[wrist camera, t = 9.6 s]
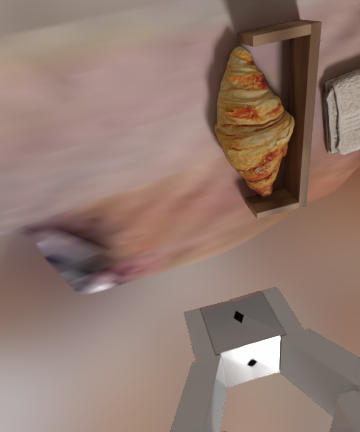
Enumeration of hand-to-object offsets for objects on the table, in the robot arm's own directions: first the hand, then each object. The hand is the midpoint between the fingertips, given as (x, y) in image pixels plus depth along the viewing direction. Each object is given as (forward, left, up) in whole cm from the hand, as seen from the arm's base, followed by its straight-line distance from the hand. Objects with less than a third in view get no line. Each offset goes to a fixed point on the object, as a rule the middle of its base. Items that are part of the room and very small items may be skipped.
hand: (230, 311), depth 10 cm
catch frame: (+17, -9, -35) cm, 40 cm away
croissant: (+14, -9, -36) cm, 39 cm away
